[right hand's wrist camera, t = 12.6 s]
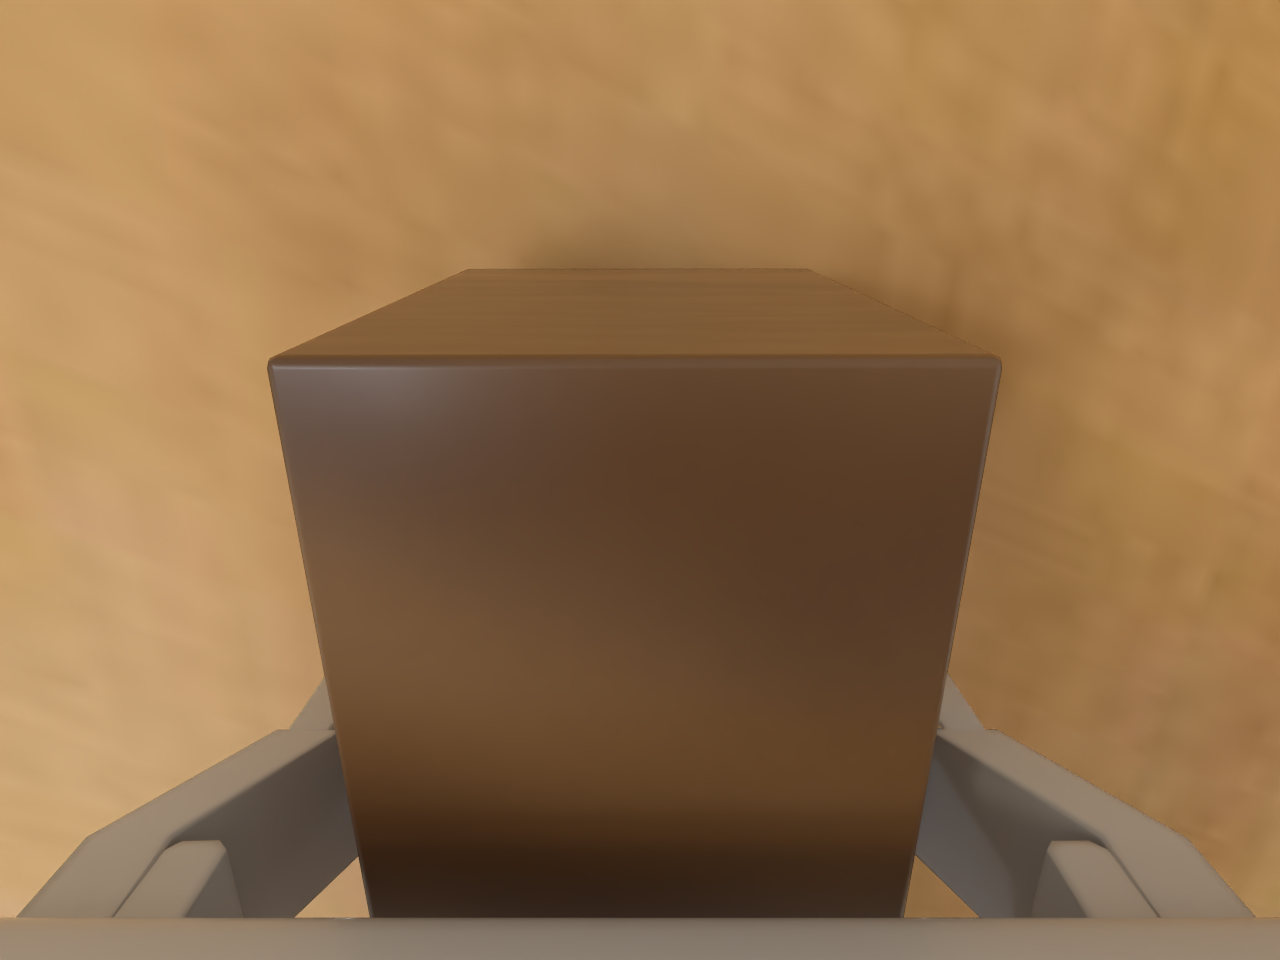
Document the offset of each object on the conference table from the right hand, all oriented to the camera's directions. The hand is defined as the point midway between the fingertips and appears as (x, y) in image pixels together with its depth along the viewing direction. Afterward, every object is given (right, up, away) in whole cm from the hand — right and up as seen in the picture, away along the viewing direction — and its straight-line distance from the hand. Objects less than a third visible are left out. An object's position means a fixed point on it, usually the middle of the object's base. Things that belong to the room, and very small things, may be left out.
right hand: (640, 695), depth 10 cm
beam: (0, -29, +14) cm, 32 cm away
